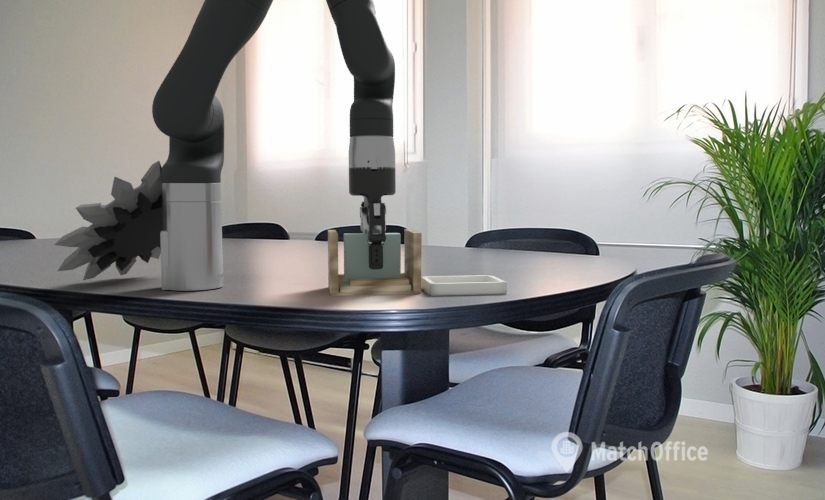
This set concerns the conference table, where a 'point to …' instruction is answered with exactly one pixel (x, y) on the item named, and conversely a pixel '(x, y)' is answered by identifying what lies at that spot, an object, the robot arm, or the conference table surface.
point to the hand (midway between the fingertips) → (373, 266)
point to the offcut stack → (376, 285)
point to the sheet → (359, 257)
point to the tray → (463, 285)
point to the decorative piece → (119, 227)
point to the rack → (410, 272)
